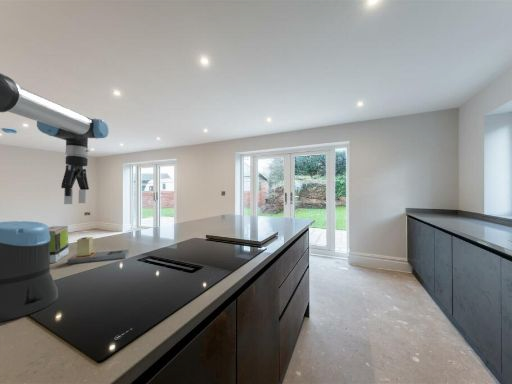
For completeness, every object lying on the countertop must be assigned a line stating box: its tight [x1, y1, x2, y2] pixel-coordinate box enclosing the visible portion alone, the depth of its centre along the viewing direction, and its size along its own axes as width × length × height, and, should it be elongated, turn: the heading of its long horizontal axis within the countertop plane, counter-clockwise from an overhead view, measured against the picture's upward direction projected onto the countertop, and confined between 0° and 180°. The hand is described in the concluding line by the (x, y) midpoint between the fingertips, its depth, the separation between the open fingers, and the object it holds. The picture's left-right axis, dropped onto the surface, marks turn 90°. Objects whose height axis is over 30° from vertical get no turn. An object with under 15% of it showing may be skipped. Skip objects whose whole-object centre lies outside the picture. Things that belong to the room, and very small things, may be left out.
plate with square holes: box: [67, 249, 130, 265], centre depth 99 cm, size 8×22×2 cm, turn 111°
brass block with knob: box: [76, 236, 94, 257], centre depth 97 cm, size 4×4×10 cm
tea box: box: [48, 225, 70, 264], centre depth 98 cm, size 15×10×15 cm
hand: (76, 203), depth 93 cm, fingers open, 13 cm apart
